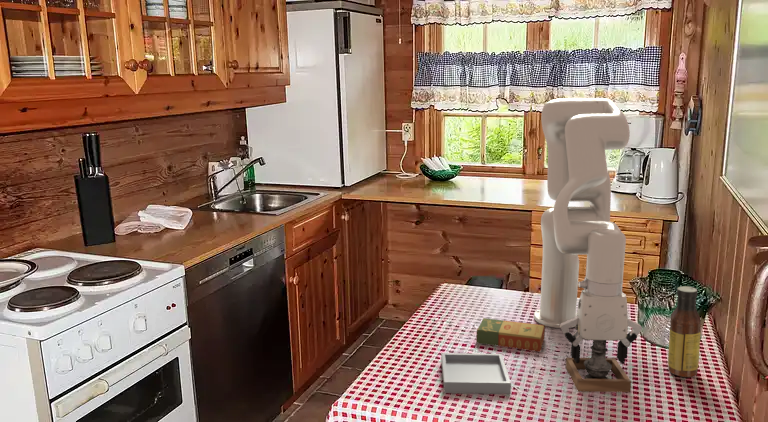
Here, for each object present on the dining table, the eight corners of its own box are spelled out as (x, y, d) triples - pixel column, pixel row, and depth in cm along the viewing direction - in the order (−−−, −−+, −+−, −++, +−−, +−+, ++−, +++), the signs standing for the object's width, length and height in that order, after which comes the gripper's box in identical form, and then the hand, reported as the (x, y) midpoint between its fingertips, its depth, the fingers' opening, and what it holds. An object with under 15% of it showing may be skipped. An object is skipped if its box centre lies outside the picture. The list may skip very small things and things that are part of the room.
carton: (540, 353, 152) (541, 337, 151) (475, 344, 157) (475, 328, 156) (544, 339, 160) (545, 324, 159) (482, 331, 165) (482, 316, 164)
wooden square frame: (565, 367, 144) (566, 357, 143) (614, 368, 143) (614, 358, 143) (578, 391, 133) (578, 380, 132) (630, 392, 133) (631, 381, 132)
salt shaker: (593, 387, 135) (596, 335, 132) (577, 375, 140) (580, 325, 137) (616, 383, 136) (620, 332, 134) (600, 371, 142) (603, 322, 139)
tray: (441, 362, 147) (441, 353, 146) (501, 363, 146) (501, 353, 145) (444, 392, 133) (444, 382, 132) (510, 393, 132) (510, 383, 132)
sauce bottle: (698, 370, 142) (707, 287, 138) (696, 381, 137) (705, 295, 133) (667, 363, 145) (675, 282, 141) (663, 374, 140) (672, 290, 136)
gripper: (566, 292, 130) (562, 368, 134) (651, 293, 129) (644, 369, 133) (558, 280, 137) (554, 353, 141) (638, 281, 137) (632, 354, 140)
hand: (598, 360), depth 137 cm, fingers open, 9 cm apart
